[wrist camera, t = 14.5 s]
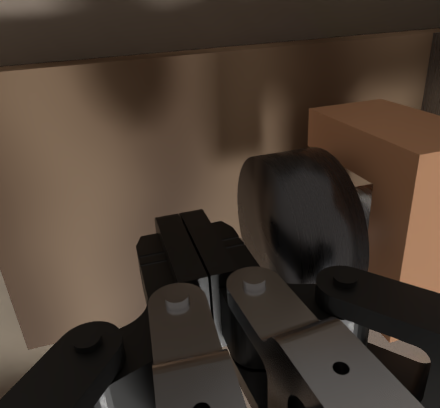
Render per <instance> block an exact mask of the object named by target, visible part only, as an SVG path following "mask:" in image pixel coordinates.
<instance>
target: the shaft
mask: <svg viewBox="0 0 440 408" xmlns="http://www.w3.org/2000/svg"><path fill="white" fill-rule="evenodd" d="M372 190H373V184H367V185H362V186H357V187H355V186H354V184H353V182H352V180H351V178H350V176H349V175H348V173H347V172H346V170H345V168H344V167H343V166H342V164H341V163H340V162H339V161H338V160H337V159H336V158H335V157H334V156H333V155H332V154H331V153H329V152H328V151H326V150H324V149H322V148H318V147H309V148H303V149H297V150H290V151H284V152H277V153H271V154H265V155H258V156H252V157H249V158H248V159H247V160H246V161H245V162H244V164H243V166H242V168H241V171H240V175H239V180H238V192H237V204H238V217H239V225H240V232H241V237H242V241H243V242H244V245H246V247H247V248H248V250H249V251H250V253H251V254H252V256H253V257H254V258H255V260H256V261H257V263H258V264H259V266H260V267H264V268H267V269H270V270H272V271H274V272H276V273H277V274H278V275H279V276H280V277H281V278H282V279H283V280H284V282H285V283H290V284H315V283H316V276H317V274H318V273H319V272H320V271H321V270H323V269H324V268H327V267H330V266H339V265H341V266H350V267H354V268H357V269H361V270H364V271H367V272H368V267H369V237H368V226H369V217H370V208H371V199H372Z"/></svg>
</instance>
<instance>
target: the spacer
mask: <svg viewBox="0 0 440 408" xmlns="http://www.w3.org/2000/svg"><path fill="white" fill-rule="evenodd" d="M308 146H309V147H318V148H322V149H324V150H326V151H328V152H329V153H331V154H332V155H333V156H334V157H335V158H336V159H337V160H338V161H339V162H340V163H341V164H342V166H343V167H344V168H346V169H348V170H349V171H351V172H353V173H355V174H356V175H358V176H360V177H361V178H363V179H365V180H367V181H368V182H370V183H372V184H373V190H372V199H371V208H370V217H369V226H368V237H369V267H368V272H371V273H374V274H377V275H381V276H384V277H387V278H391V279H394V280H397V281H401V282H404V283H407V284H411V285H414V286H417V287H421V288H424V289H427V290H430V291H434V292H437V293H440V116H439V115H436V114H432V113H429V112H425V111H422V110H418V109H415V108H411V107H408V106H405V105H401V104H398V103H394V102H391V101H387V100H384V99H376V100H368V101H361V102H353V103H346V104H338V105H330V106H323V107H315V108H309V120H308ZM381 334H382V333H381ZM382 335H383V336H384V337H385V338H386V339H387V340H388V341H389V342H394V341H397V340H398V339H396V338H393V337H390V336H387V335H385V334H382Z"/></svg>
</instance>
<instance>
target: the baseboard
mask: <svg viewBox="0 0 440 408" xmlns="http://www.w3.org/2000/svg"><path fill="white" fill-rule="evenodd" d="M435 32H440V28H435V29H423V30H412V31H401V32H389V33H378V34H366V35H355V36H344V37H332V38H321V39H309V40H298V41H287V42H275V43H264V44H252V45H241V46H230V47H218V48H207V49H196V50H184V51H173V52H161V53H150V54H139V55H127V56H116V57H104V58H93V59H82V60H70V61H59V62H47V63H36V64H25V65H13V66H2V67H0V270H1V273H2V276H3V279H4V281H5V284H6V287H7V290H8V293H9V296H10V299H11V302H12V304H13V307H14V310H15V313H16V316H17V319H18V322H19V325H20V328H21V330H22V333H23V336H24V339H25V342H26V345H27V348H28V350H29V349H33V348H37V347H41V346H46V345H50V344H54V343H56V342H57V341H58V340H59V339H60V338H61V337H62V336H63V335H64V334H65V333H67V332H68V331H69V330H71V329H73V328H74V327H76V326H79V325H81V324H84V323H87V322H92V321H105V322H109V323H112V324H114V325H116V326H117V327H118V328H120V327H124V326H126V325H128V324H130V323H131V322H133V321H134V320H136V319H137V318H138V317H139V316H140V315H141V314H142V313H143V312H144V310H145V309H146V306H147V305H146V300H145V296H144V291H143V286H142V280H141V274H140V268H139V262H138V256H137V250H136V245H137V243H138V241H139V239H140V237H141V236H145V235H150V234H155V233H156V228H155V217H161V216H166V215H172V214H177V213H178V214H179V213H182V212H188V211H193V210H199V209H203V210H204V212H205V214H206V215H207V217H208V219H209V220H210V222H211V223H212V222H218V221H223V222H224V223H226V224H228V225H230V226H232V227H233V228H234V229H235V231H236V232H237V234H238V235H239V238H241V240H242V237H241V232H240V225H239V217H238V204H237V192H238V180H239V175H240V171H241V168H242V166H243V164H244V162H245V161H246V160H247V159H248V158H249V157H252V156H258V155H265V154H271V153H277V152H284V151H290V150H297V149H303V148H309V146H308V120H309V108H315V107H323V106H330V105H338V104H346V103H353V102H361V101H368V100H376V99H384V100H387V101H391V102H394V103H398V104H401V105H405V106H408V107H411V108H415V109H418V110H421V107H422V101H423V95H424V89H425V82H426V76H427V70H428V64H429V58H430V51H431V45H432V39H433V33H435ZM345 170H346V172H347V173H348V175H349V176H350V178H351V180H352V182H353V184H354V186H355V187H357V186H362V185H367V184H372V183H370V182H368V181H367V180H365V179H363V178H361V177H360V176H358V175H356V174H355V173H353V172H351V171H349V170H348V169H346V168H345Z"/></svg>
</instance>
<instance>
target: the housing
mask: <svg viewBox="0 0 440 408" xmlns="http://www.w3.org/2000/svg"><path fill="white" fill-rule="evenodd" d="M421 110H422V111H425V112H429V113H432V114H436V115H439V116H440V32H435V33H433V39H432V45H431V51H430V58H429V64H428V70H427V76H426V82H425V89H424V95H423V101H422V107H421Z"/></svg>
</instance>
